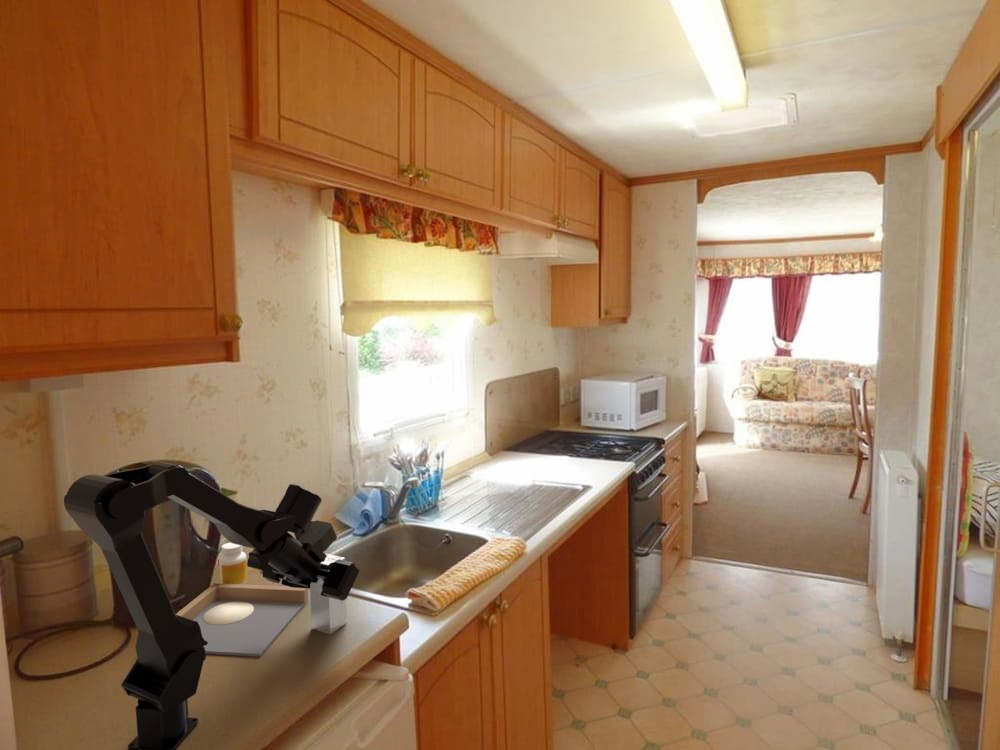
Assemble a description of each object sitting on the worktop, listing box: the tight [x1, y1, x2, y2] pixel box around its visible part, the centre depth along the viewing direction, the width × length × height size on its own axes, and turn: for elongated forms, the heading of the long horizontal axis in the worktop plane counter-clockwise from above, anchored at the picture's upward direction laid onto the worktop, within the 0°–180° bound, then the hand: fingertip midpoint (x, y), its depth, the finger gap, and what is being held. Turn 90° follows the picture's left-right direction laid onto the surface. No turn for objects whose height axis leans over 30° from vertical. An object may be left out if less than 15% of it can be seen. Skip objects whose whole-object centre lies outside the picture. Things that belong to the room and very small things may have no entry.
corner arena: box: [175, 582, 309, 658], centre depth 115 cm, size 20×20×3 cm
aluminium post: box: [309, 553, 348, 635], centre depth 114 cm, size 4×4×13 cm
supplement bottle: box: [218, 542, 249, 585], centre depth 130 cm, size 5×5×10 cm
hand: (333, 589), depth 115 cm, fingers open, 5 cm apart
